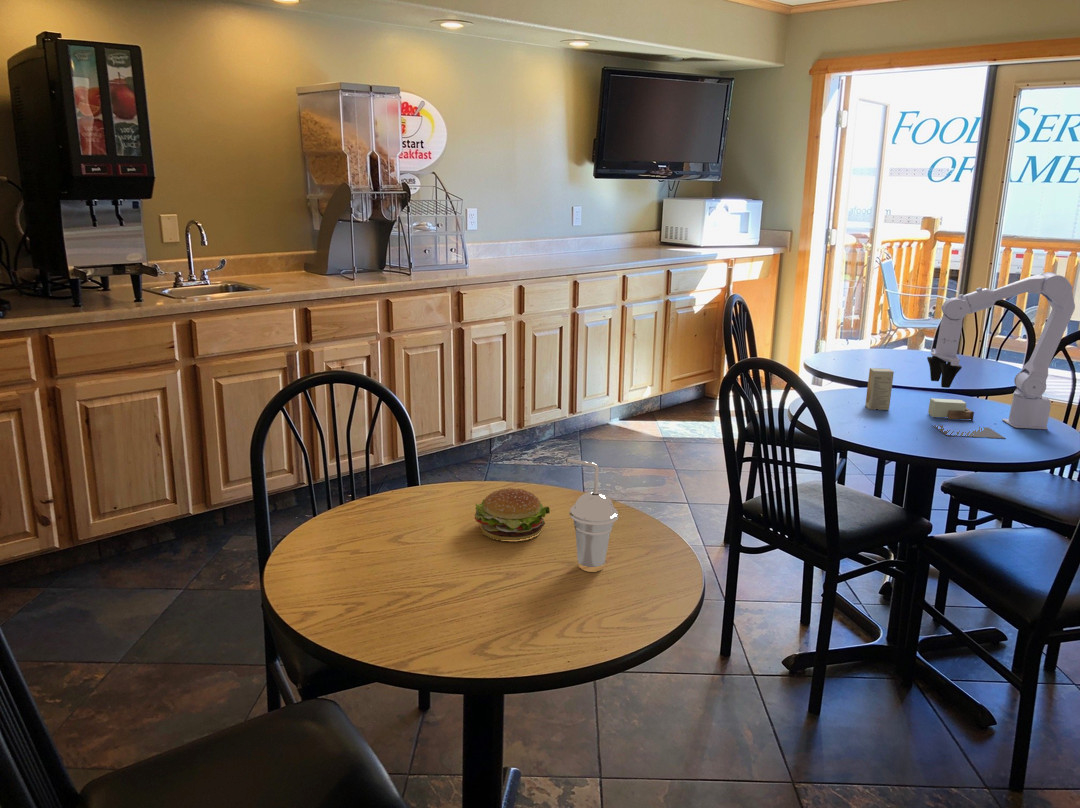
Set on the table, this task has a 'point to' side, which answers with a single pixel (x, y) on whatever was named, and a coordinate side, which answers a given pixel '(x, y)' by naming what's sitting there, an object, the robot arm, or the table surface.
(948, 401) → the block
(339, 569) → the table surface
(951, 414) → the frame
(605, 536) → the cup with straw
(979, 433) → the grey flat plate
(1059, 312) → the robot arm
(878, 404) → the skincare box
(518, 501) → the food
